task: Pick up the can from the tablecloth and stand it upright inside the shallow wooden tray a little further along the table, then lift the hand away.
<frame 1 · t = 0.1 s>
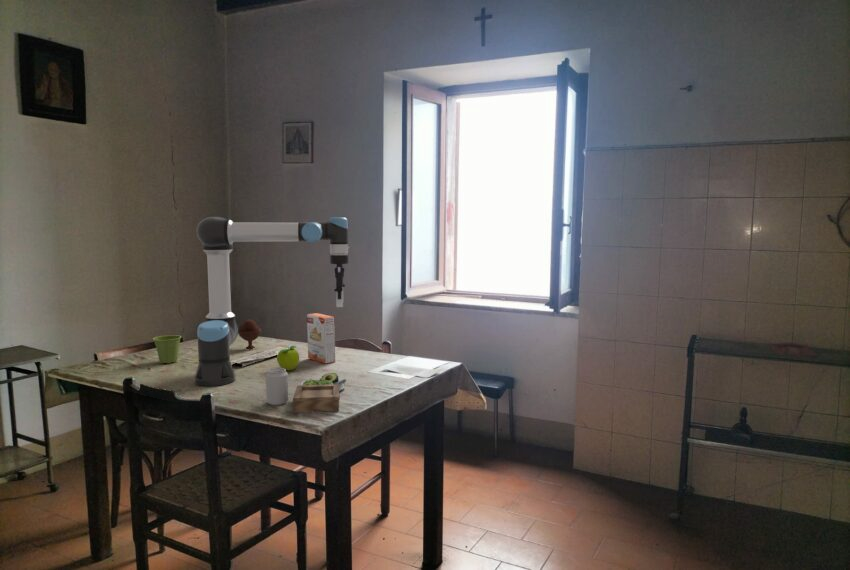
hand: (340, 304, 253), 28 cm above the table, tool pointing down, fingers open, 13 cm apart
fruit: (288, 370, 256), on the table
cracker box: (321, 361, 272), on the table
wooden tray: (317, 404, 208), on the table
newspaper: (260, 360, 276), on the table
ice cream bowl: (250, 349, 295), on the table
salad plate: (323, 389, 229), on the table
can: (277, 403, 210), on the table
plant pot: (168, 362, 269), on the table
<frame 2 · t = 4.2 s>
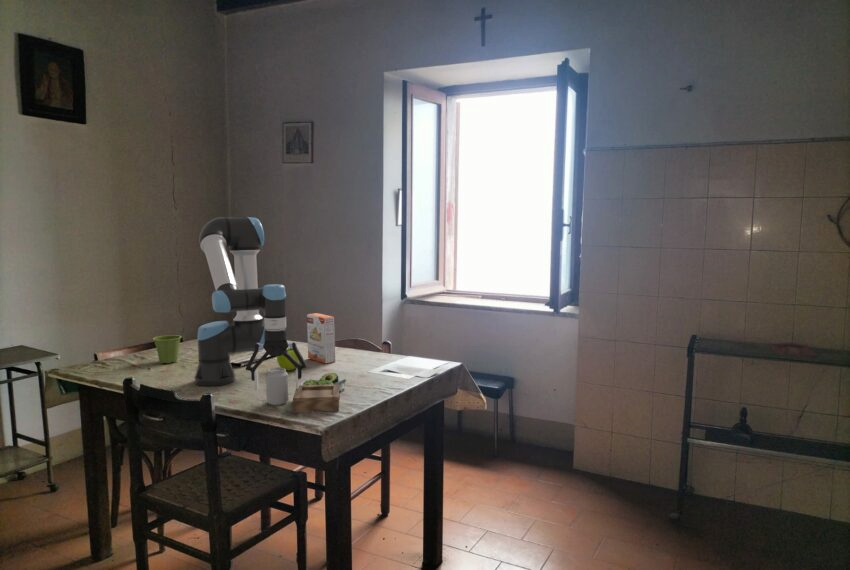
hand: (277, 389, 209), 5 cm above the table, tool pointing down, fingers open, 13 cm apart
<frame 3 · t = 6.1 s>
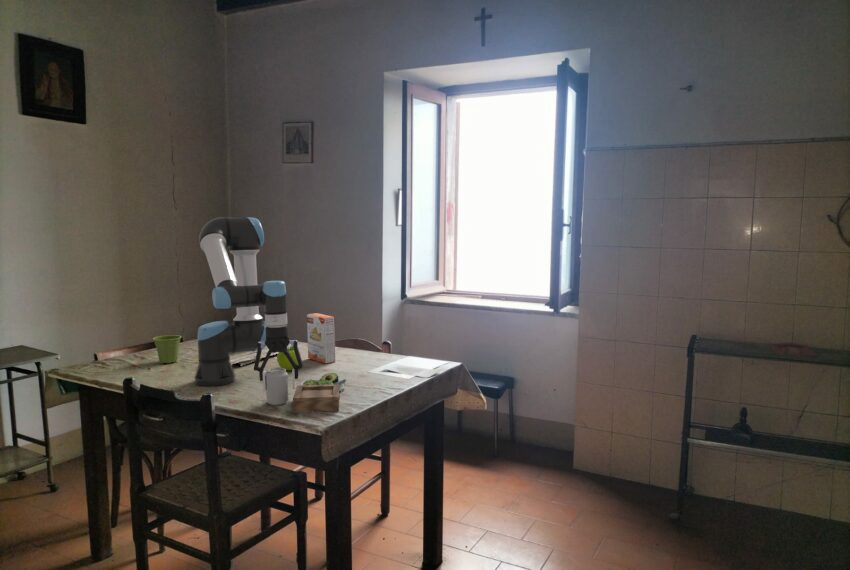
hand: (279, 388, 210), 5 cm above the table, tool pointing down, fingers open, 9 cm apart
can: (277, 403, 210), on the table, touching gripper
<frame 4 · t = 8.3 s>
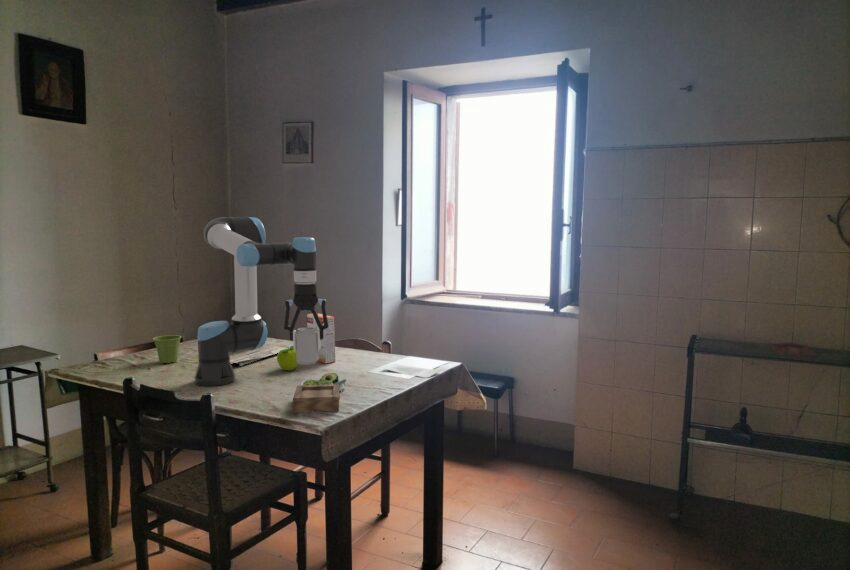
hand: (307, 349, 206), 20 cm above the table, tool pointing down, fingers closed on can, 7 cm apart
can: (307, 363, 206), point 15 cm above the table, touching gripper
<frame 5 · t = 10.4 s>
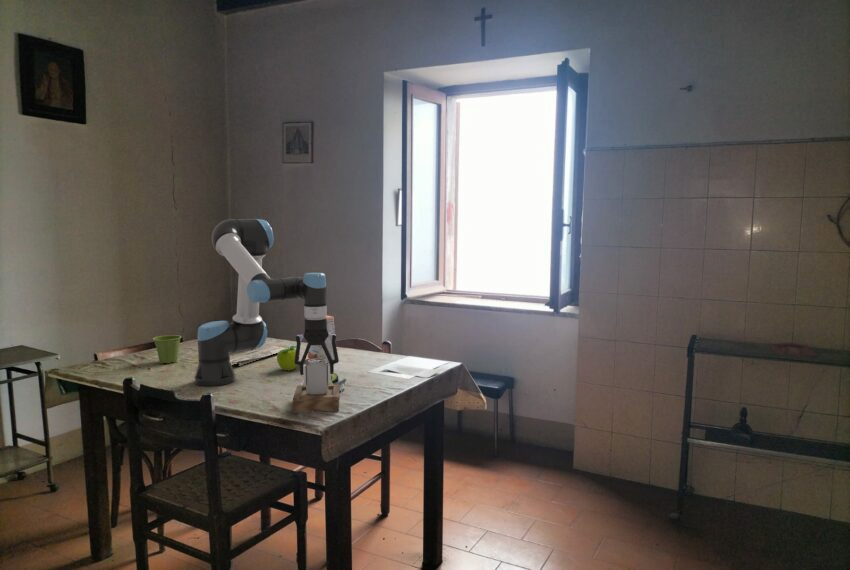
hand: (317, 383, 207), 8 cm above the table, tool pointing down, fingers closed on can, 8 cm apart
can: (317, 394, 208), point 4 cm above the table, touching wooden tray, gripper
when the fingers open (7 cm above the table, at t = 11.2 s): can stays where it is, resting on wooden tray.
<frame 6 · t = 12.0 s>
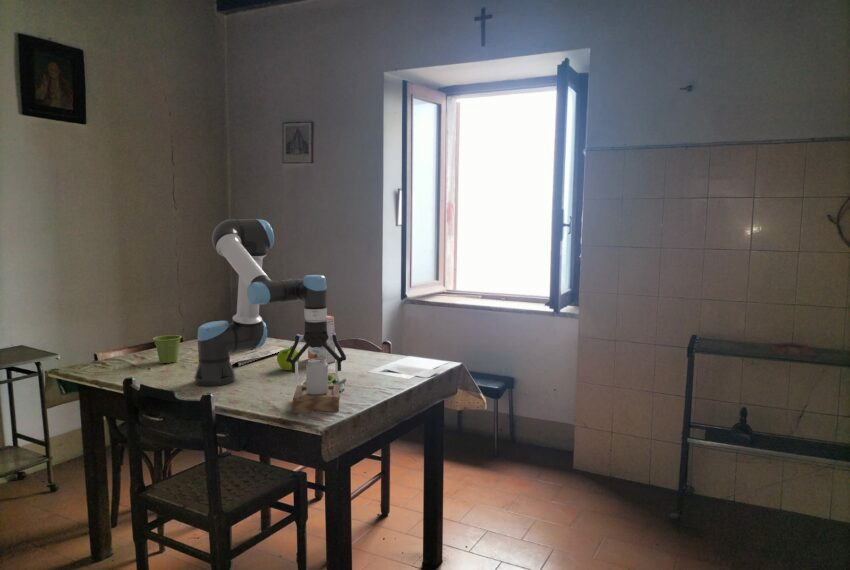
hand: (316, 381, 207), 9 cm above the table, tool pointing down, fingers open, 13 cm apart
can: (317, 394, 208), point 4 cm above the table, touching wooden tray
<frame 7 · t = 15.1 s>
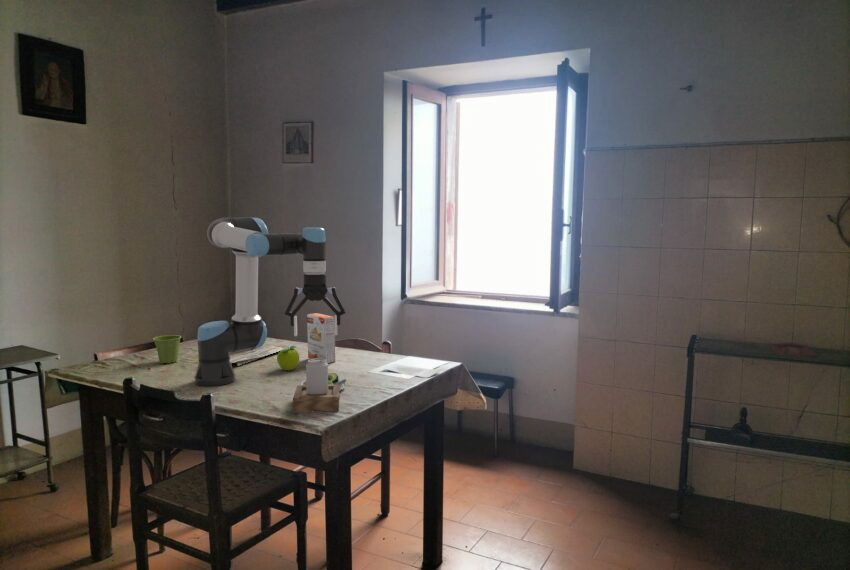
hand: (315, 335, 205), 25 cm above the table, tool pointing down, fingers open, 13 cm apart
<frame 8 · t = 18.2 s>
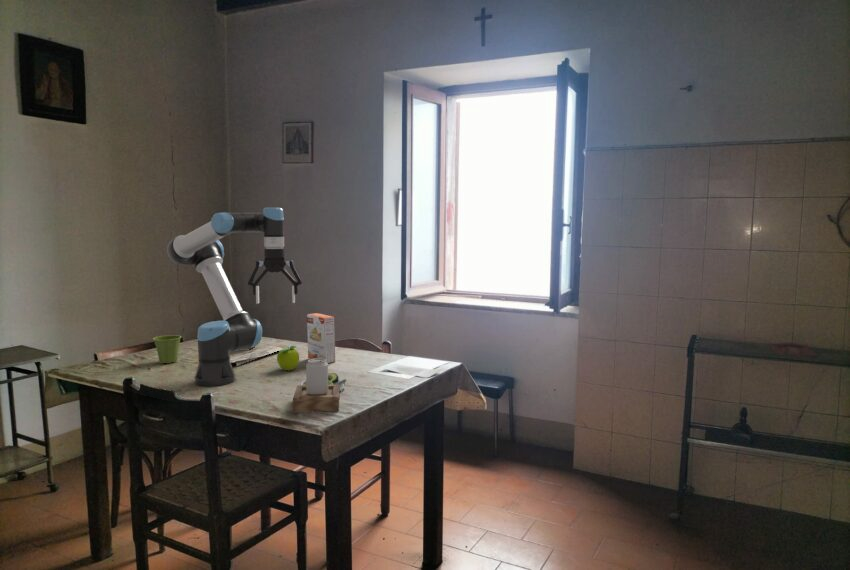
hand: (275, 302, 232), 32 cm above the table, tool pointing down, fingers open, 13 cm apart
at the end: can inside the target area on the wooden tray (0.1 cm from its centre), point 3.8 cm above the wooden tray's base; can tilted 0°; the gripper is holding nothing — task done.
